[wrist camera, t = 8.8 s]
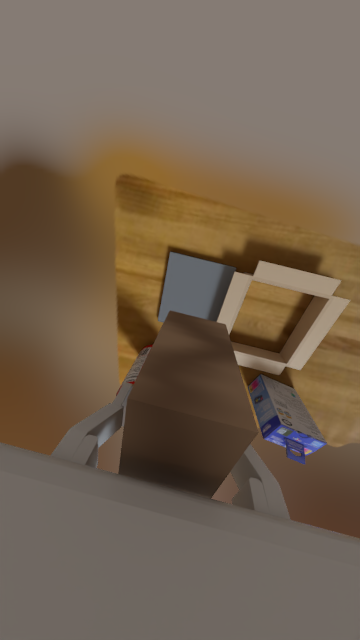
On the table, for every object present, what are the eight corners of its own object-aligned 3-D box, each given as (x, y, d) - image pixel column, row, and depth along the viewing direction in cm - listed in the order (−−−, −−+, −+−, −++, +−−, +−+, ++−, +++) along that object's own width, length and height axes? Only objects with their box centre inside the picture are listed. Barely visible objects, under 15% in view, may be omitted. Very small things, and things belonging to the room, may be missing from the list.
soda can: (147, 336, 38) (118, 387, 25) (177, 351, 39) (165, 408, 26) (136, 359, 42) (105, 415, 28) (164, 372, 42) (146, 433, 29)
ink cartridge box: (245, 387, 41) (266, 453, 28) (258, 372, 39) (287, 437, 26) (280, 402, 42) (315, 473, 29) (295, 388, 40) (340, 459, 27)
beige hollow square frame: (343, 280, 29) (361, 285, 26) (286, 367, 37) (294, 378, 34) (236, 254, 29) (240, 255, 26) (204, 346, 38) (204, 356, 35)
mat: (235, 267, 30) (236, 268, 29) (212, 332, 36) (212, 334, 35) (171, 251, 30) (170, 251, 29) (158, 318, 36) (157, 320, 35)
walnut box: (225, 324, 13) (259, 435, 5) (195, 403, 16) (190, 529, 9) (169, 310, 13) (126, 400, 5) (152, 392, 17) (113, 509, 9)
